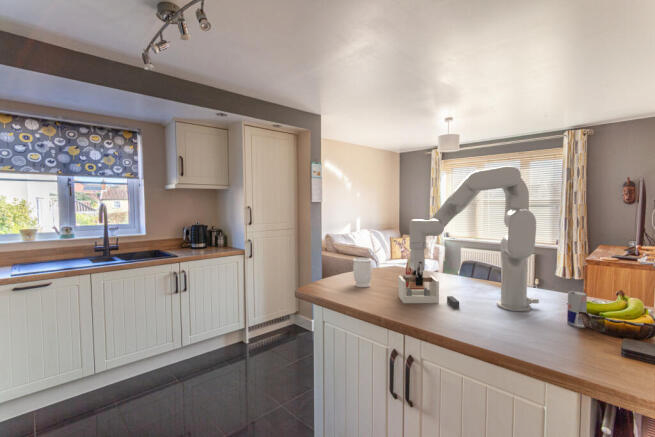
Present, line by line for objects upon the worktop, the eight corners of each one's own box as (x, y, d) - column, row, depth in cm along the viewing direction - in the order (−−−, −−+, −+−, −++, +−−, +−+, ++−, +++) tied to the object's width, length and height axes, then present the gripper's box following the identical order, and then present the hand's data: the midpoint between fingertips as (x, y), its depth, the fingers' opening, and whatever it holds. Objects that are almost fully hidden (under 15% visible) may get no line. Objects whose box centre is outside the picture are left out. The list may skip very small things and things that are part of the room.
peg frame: (431, 295, 151) (431, 275, 150) (438, 303, 140) (438, 281, 139) (398, 295, 151) (398, 275, 151) (403, 303, 140) (403, 281, 140)
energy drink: (567, 321, 116) (568, 289, 116) (585, 324, 113) (586, 292, 112) (566, 325, 112) (567, 293, 112) (586, 329, 109) (587, 295, 108)
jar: (350, 284, 175) (350, 257, 174) (367, 282, 178) (366, 256, 177) (357, 289, 165) (357, 261, 164) (375, 287, 168) (375, 259, 167)
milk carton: (425, 290, 160) (425, 252, 159) (407, 290, 160) (407, 252, 159) (420, 286, 169) (420, 249, 168) (403, 286, 169) (403, 249, 168)
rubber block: (452, 302, 140) (452, 296, 140) (459, 308, 132) (459, 301, 132) (447, 302, 140) (447, 296, 140) (453, 308, 132) (453, 301, 132)
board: (405, 281, 142) (405, 277, 142) (403, 278, 148) (403, 274, 148) (432, 281, 142) (432, 277, 142) (428, 278, 148) (428, 274, 147)
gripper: (405, 243, 153) (405, 279, 154) (414, 248, 136) (413, 289, 137) (421, 243, 153) (420, 279, 153) (431, 248, 135) (431, 289, 136)
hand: (417, 283), depth 145 cm, fingers closed on board, 5 cm apart
